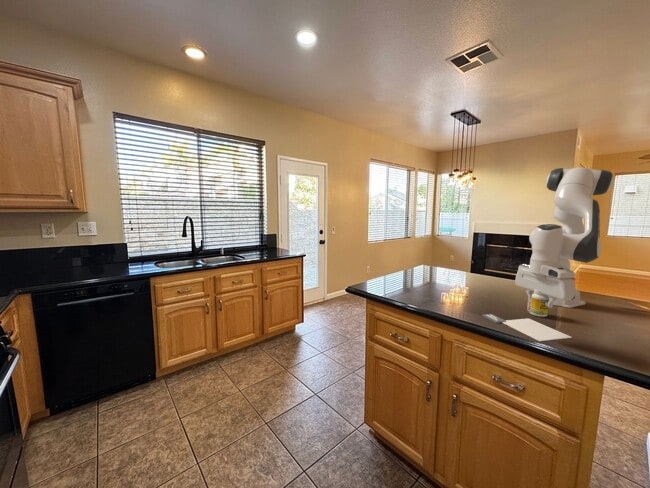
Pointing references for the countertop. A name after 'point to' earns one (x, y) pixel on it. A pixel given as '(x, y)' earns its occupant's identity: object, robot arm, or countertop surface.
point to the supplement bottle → (539, 303)
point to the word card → (493, 318)
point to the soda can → (530, 306)
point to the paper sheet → (535, 330)
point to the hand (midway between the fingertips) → (539, 304)
